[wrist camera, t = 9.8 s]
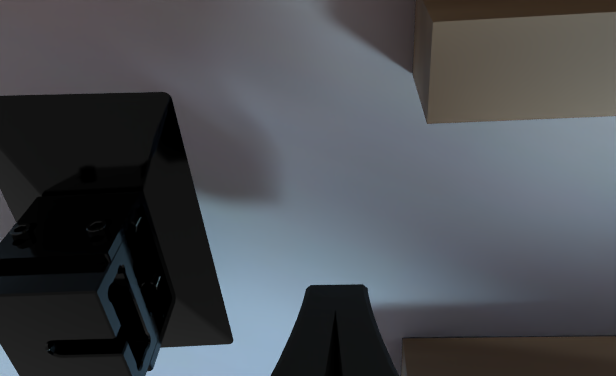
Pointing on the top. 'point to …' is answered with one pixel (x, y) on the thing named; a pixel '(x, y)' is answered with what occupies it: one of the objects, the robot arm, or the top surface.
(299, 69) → the top surface
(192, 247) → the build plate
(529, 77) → the wooden stepped rails
